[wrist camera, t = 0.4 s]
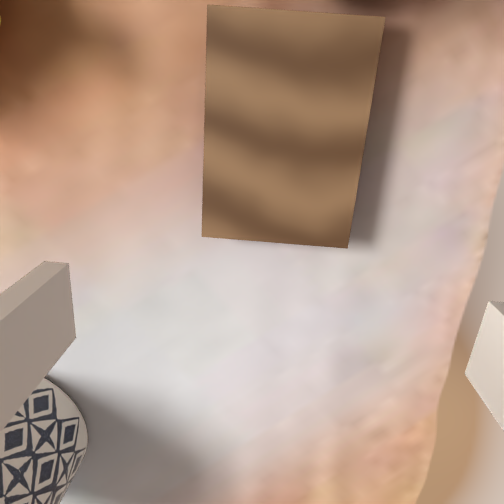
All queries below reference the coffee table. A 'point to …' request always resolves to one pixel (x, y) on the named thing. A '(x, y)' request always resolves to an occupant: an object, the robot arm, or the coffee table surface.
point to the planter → (41, 448)
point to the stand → (286, 122)
